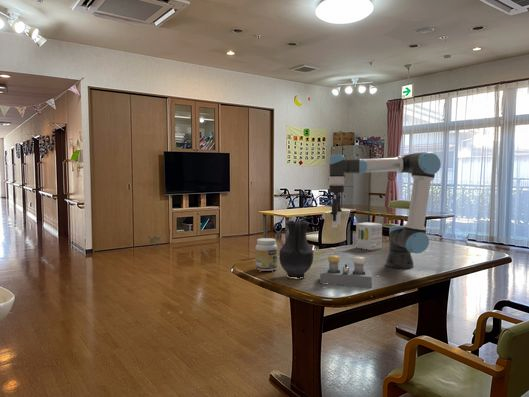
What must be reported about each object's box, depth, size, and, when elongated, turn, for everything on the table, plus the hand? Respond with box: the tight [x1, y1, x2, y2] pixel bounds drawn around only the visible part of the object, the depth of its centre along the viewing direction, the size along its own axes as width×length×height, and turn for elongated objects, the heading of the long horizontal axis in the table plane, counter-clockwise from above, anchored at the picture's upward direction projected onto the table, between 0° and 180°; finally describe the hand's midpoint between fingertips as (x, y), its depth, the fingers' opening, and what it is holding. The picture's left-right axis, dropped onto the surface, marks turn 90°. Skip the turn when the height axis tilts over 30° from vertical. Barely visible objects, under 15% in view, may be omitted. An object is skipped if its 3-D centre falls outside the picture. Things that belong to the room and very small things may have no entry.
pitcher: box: [278, 220, 314, 278], centre depth 200 cm, size 17×21×30 cm
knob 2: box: [352, 256, 366, 274], centre depth 191 cm, size 5×5×8 cm
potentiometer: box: [342, 263, 350, 274], centre depth 190 cm, size 3×3×4 cm
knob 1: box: [327, 254, 340, 273], centre depth 194 cm, size 5×5×8 cm
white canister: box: [355, 221, 383, 251], centre depth 281 cm, size 13×13×18 cm
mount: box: [319, 267, 373, 288], centre depth 193 cm, size 24×12×5 cm, turn 75°
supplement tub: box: [255, 237, 278, 270], centre depth 218 cm, size 12×12×17 cm
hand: (336, 225), depth 205 cm, fingers open, 13 cm apart
